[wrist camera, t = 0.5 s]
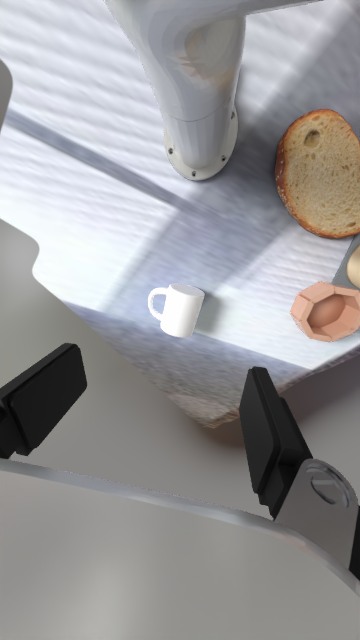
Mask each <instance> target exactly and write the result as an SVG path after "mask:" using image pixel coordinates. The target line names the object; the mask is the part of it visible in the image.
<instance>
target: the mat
mask: <svg viewBox="0 0 360 640" xmlns="http://www.w3.org/2000/svg"><path fill="white" fill-rule="evenodd" d="M359 244H360V233H357V234H356V235H355V237H354V239H353V241H352V243H351V245H350V247H349V249H348V251H347V253H346V255H345V257H344V259H343V261H342V263H341V265H340V267H339V269H338V271H337V273H336V275H335V277H334V279H333V281H332V283H333V284H338V285H344V286H347V287H350V288H353V289H356V290H359V291H360V288H357V287H355V286H354V285H352V284H351V283H350V281H349V280H348V278H347V274H346V267H347V262H348V260H349V257H350V256H351V254H352V252H353V251H354V250H355V248H356V247H357V246H358V245H359Z"/></svg>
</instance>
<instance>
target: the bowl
mask: <svg viewBox="0 0 360 640" xmlns="http://www.w3.org/2000/svg"><path fill="white" fill-rule="evenodd" d="M299 294H300V295H298V294H297V296H296V299H295V301H294V303H293V306H292V308H291V310H290V312H291V313H290V314H291V316H292V318H293V320H294V321H295V323H296V325H297V327H298V328H299V329H300V330H301V331H302V332H303V333H304V334H305V335H306V336H308V337H309V338H311V339H316V340H321V341H327V342H331V341H332V342H334V341H336V340H338V339H341V338H343V337H345V336H348V335H350V334H353V333H355V332H354V330H355V331H357V330H358V328H359V327H360V291H359V290H356V289H353V288H350V287H347V286H344V285H338V284H333V283H328V282H322V281H321V282H318V283H316V284H314V285H312V286H310V287H308V288H307V289H305V290H303V291H301V292H299Z"/></svg>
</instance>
